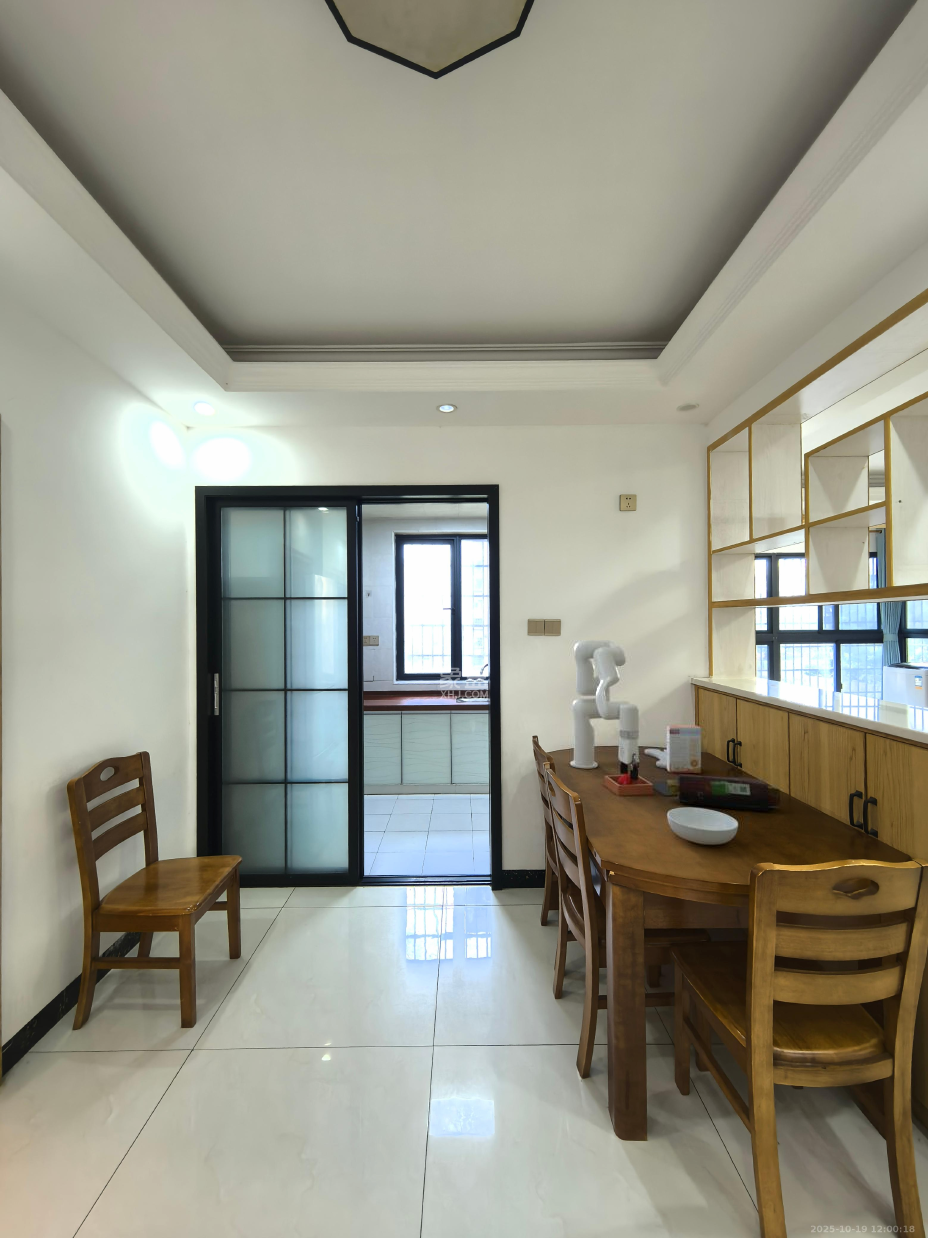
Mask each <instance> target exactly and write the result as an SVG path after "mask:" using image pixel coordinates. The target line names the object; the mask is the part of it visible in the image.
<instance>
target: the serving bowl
mask: <svg viewBox="0 0 928 1238" xmlns="http://www.w3.org/2000/svg"><path fill="white" fill-rule="evenodd" d="M666 816H667V822H668V825H669V827H670V829H671V830H672V831H673V832H674V833H675V834H676V835H677V836H678V837H680V838H682V839H684V840H687V841H689V842H692V843H695V844H699V845H706V846H707V845H722V844H725V843H728V842H730V841H731V840H732V839H734V838H735V836H736V835H737V832H738V828H739V822H738V820H737V819H735V818H734V817H732V816H731V815H728V814H726V813H724V812H720V811H717V810H713V809H708V808H703V807H686V806H685V807H677V808H673V809H670V810H668V811H667V814H666Z"/></svg>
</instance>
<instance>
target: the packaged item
mask: <svg viewBox="0 0 928 1238" xmlns="http://www.w3.org/2000/svg"><path fill="white" fill-rule="evenodd" d="M666 782H667V787H666V789H667V791H668V793H669V794H674V795H677V796H676V797H677V801H678V802H679V803H680V804H685V805H687V804H688V805H697V806H702V807H716V808H726V809H733V810H741V811H752V812H753V811H754V812H765V813H767V812H769V809H778V808H779V807H780V804H781V801H780V800H781V789H779V787H777V786H775V785H768V784H767V783H766V782H765V781H764V780H762V779H756V778H748V777H728V776H727V777H726V776H707V775H695V774H693V775H692V774H682V773H677V780H676V779H675V780H674V779H673V780H672V779H666Z"/></svg>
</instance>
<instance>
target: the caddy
mask: <svg viewBox="0 0 928 1238" xmlns="http://www.w3.org/2000/svg"><path fill="white" fill-rule="evenodd" d="M623 775H624V774H619V775H604V782H603V783H604V786H605V787H606V788H608V790H610V791H612V792H613V793H614V794H616V795H617V796H619V797H621V796H646V795H649V796H650V795H654V789H653V784H651V783H650V782H651V781H649V780H646V779H645V778H644V777H641V776H640V775H639V774H638V780H632V784H633V785H619V784H618V780H619V778H620V777H621V776H623Z"/></svg>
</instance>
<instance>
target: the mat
mask: <svg viewBox="0 0 928 1238" xmlns="http://www.w3.org/2000/svg"><path fill="white" fill-rule="evenodd" d="M649 782H650V783H651V784H653V790H655V791H656V792H658V793H660V795H662V796H664V797H677V795H674V794H669V793H668V791H667V789H666V787H667V781H649Z"/></svg>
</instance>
